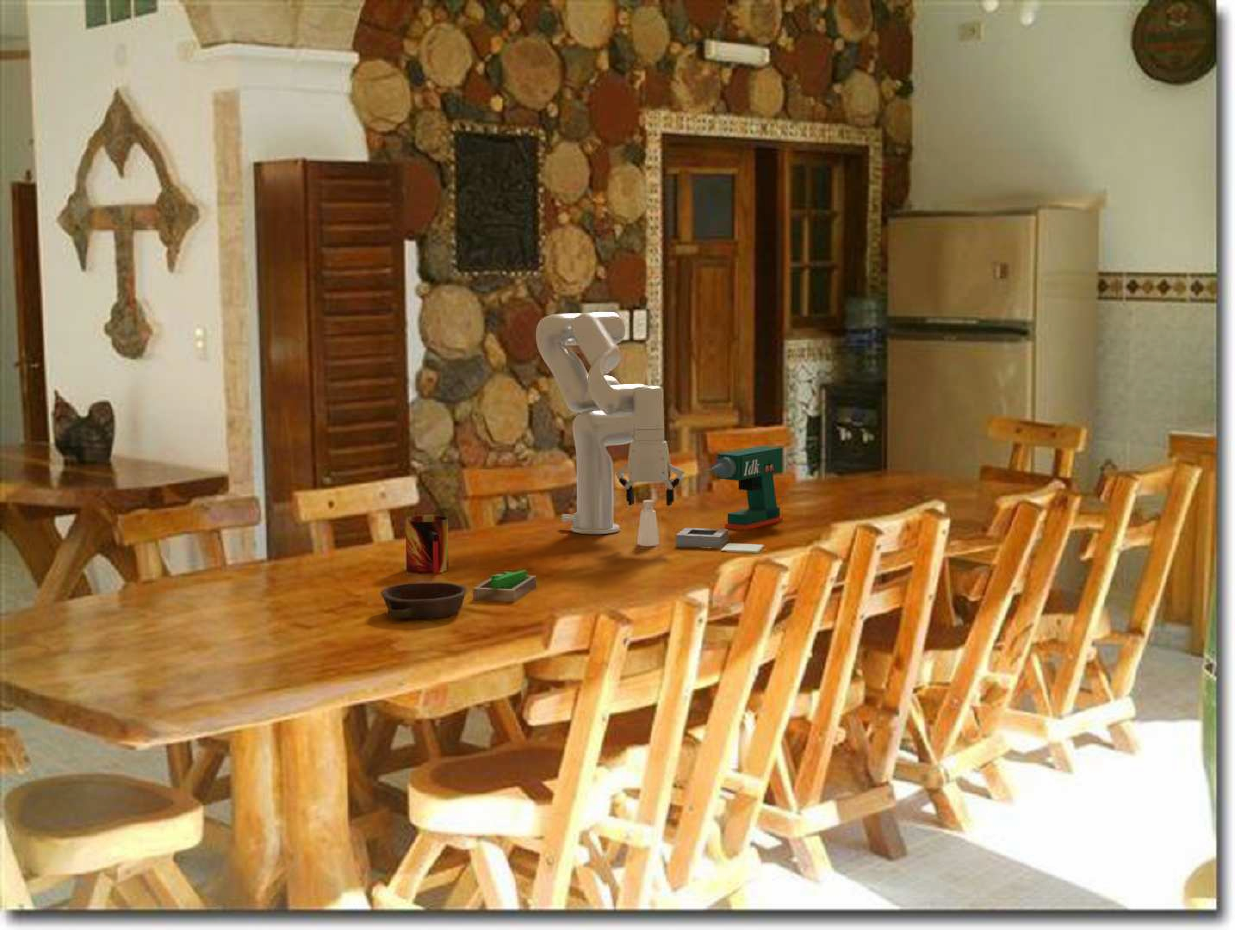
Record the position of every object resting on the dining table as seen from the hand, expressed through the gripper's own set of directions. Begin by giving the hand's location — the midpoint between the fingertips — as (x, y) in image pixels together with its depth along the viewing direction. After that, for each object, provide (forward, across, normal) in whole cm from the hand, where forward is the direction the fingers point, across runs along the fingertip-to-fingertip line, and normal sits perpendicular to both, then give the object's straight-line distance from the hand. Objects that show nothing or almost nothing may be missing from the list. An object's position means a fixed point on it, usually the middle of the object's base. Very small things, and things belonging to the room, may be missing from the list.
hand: (650, 504), depth 416 cm
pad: (+11, +23, 0) cm, 25 cm away
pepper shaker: (+10, -1, +1) cm, 10 cm away
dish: (+12, -27, -86) cm, 91 cm away
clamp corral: (+11, -17, -64) cm, 67 cm away
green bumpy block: (+12, -17, -65) cm, 68 cm away
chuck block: (+10, +12, +4) cm, 16 cm away
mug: (+10, -41, -44) cm, 61 cm away
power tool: (+10, +17, +31) cm, 37 cm away
